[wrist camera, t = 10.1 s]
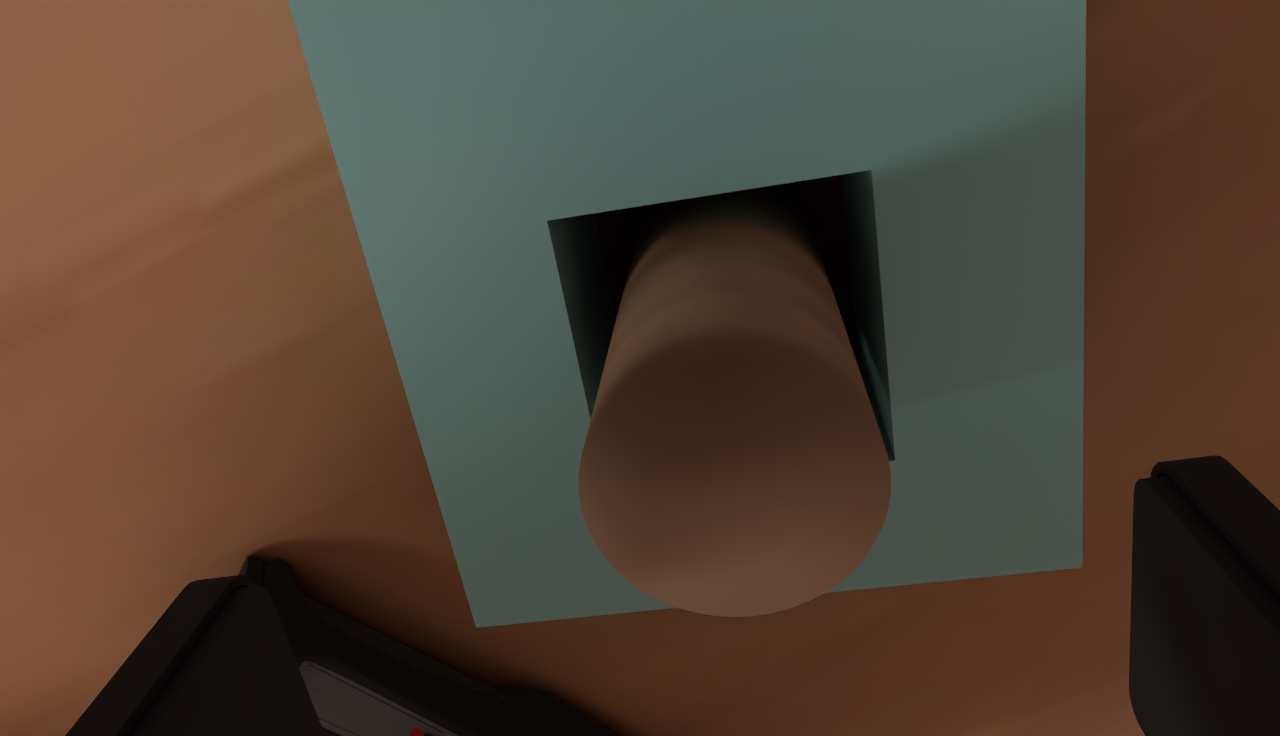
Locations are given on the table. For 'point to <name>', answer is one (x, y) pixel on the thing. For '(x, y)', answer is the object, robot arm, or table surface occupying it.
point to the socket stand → (707, 165)
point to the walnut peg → (732, 415)
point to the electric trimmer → (399, 679)
